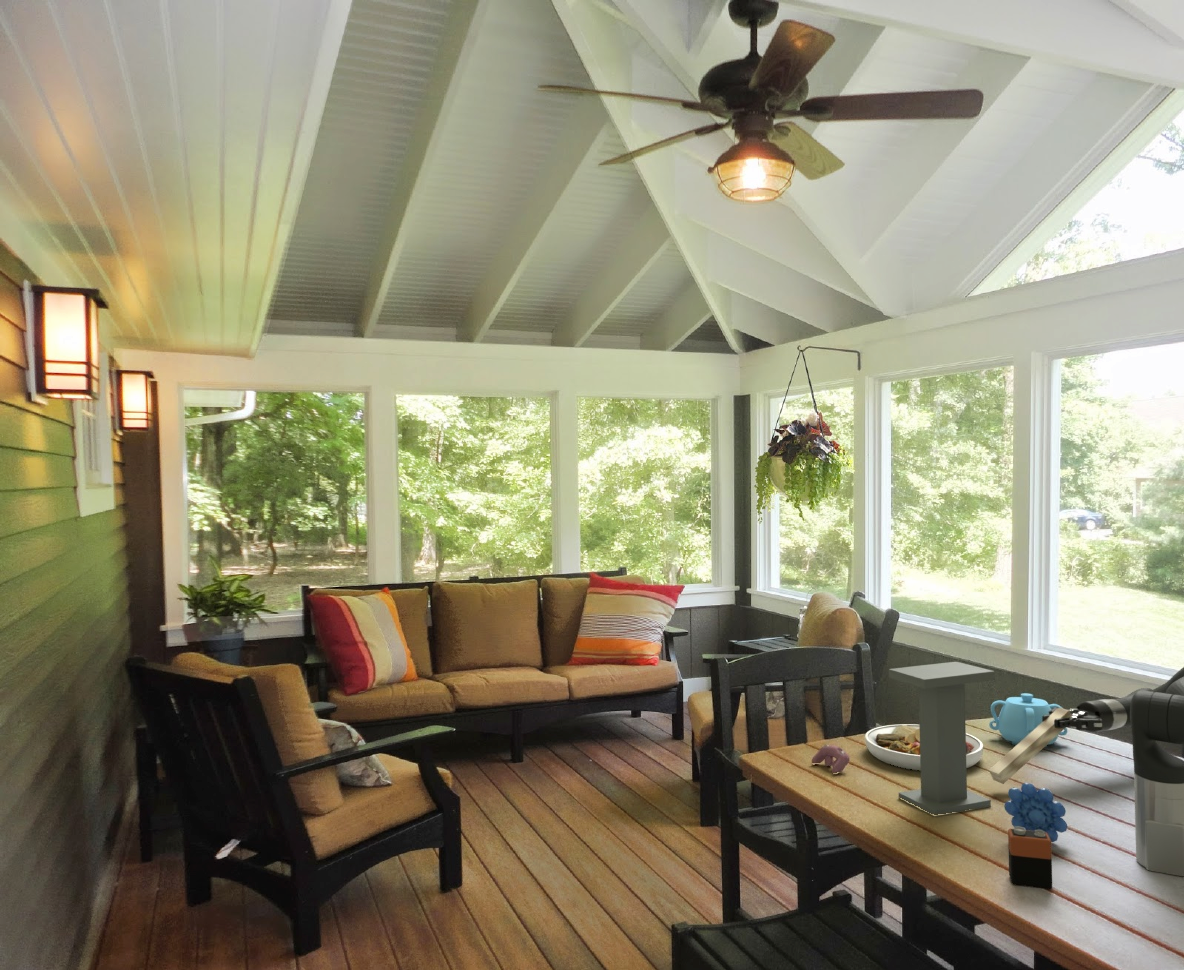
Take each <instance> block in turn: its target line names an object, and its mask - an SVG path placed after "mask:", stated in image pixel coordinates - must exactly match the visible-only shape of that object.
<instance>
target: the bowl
mask: <svg viewBox="0 0 1184 970" xmlns="http://www.w3.org/2000/svg"><path fill="white" fill-rule="evenodd" d="M864 735H865V736H864V740H865V745H866V748H867V750H868V751H869V752H870V754H872V756H874V757H875V758H876V759H878V760H879V761H882V762H883V763H885V764H888V765H890V764H891V766H893V765H894V767H897V766H898V767H897V768H900V767H901V768H900V769H905V768H906V770H910V769H912V770H911V771H917V770H919V771H918V772H921V769H920V725H919V724H915V723H913V724H912V723H911V724H907V723H906V724H904V723H903V724H888V725H883V726H882V725H881V726H878V727H875V728H872V729H870V730H868V731H867V732H866V733H865V734H864ZM983 753H984V743H983V742H982V741H981V740H980V739H979V738H977V737H976V736H974V735H972V734H969V733H967V732H966V769H968V768H971V767H973V766H975V765H976V764H978V762H979V761H980V760H981V759H982V755H983Z"/></svg>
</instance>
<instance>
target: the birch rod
mask: <svg viewBox="0 0 1184 970" xmlns="http://www.w3.org/2000/svg"><path fill="white" fill-rule="evenodd" d="M1069 710H1070V709H1065V708H1063V707H1062V708H1058V709H1057V710H1056V711H1054V712H1053V713H1052V714H1051V715H1050V716H1049V717H1048V718H1047V719H1046V720H1045V721H1043V722H1042V723H1041V724H1040V725H1039V726H1038V727H1036V728H1035V729H1034V730H1033V731H1032V732H1031V733H1030V734H1029V735H1027V736H1026V737H1025V738H1024V739H1023V740H1022V741H1021V742H1020V743H1018V744H1017V745H1015V746H1014V747H1013V748H1012V749H1011V750H1009V752H1007V753H1006V754H1005V755H1004V756H1002V758H1000V759H999V760H998V761H997V762H996V763H994V765H993V766H991V768H988V772H989V773H990V774H989V775H991V777H992V779H993V781H995V782H997V783H1001V784H1002V785H1004V784H1005V783H1007V782H1008V780H1010V778H1012V777H1013V776H1014V775H1015V774H1017V773H1018V772H1019V771H1020V770H1021V769H1022V768H1023V767H1024V766H1025V765H1027V763H1028V762H1030V761H1031V760H1032V759H1033V758H1034V757H1035V756H1036V755H1037V754H1039V752H1040V751H1041V750H1043V749H1044V748H1046V747H1045V746H1046V745H1047V744H1048V743H1049V742H1050V741H1052V740H1053V739H1054V738H1055V737H1056V736H1057V735H1058V734H1059V733H1060V732H1063V731H1064V729H1065V728H1059V729H1058V728H1055V724H1054V720H1055V719H1059V718H1068V717H1072V715H1071V713H1070V711H1069ZM1058 736H1059V735H1058ZM1048 745H1049V744H1048Z"/></svg>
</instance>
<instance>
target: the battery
mask: <svg viewBox="0 0 1184 970" xmlns="http://www.w3.org/2000/svg"><path fill="white" fill-rule="evenodd" d="M1007 839H1008V840H1007V841H1008V844H1007V845H1008V875H1009V878H1010V882H1011V884H1012V885H1014V886H1018V887H1019V886H1020V887H1027V888H1028V887H1029V888H1036V889H1043V890H1044V889H1045V890H1052V889H1053V860H1052V858H1053V857H1052V856H1053V855H1052V853H1053V852H1052V849H1053V848H1052V842H1051V840H1050V838H1049V836H1048V834H1047V833H1046V832H1044V831H1043V830H1035V831H1029V830H1025V828H1023V827H1019V826H1017V827H1014V826H1013V828H1009V829H1008V830H1007Z"/></svg>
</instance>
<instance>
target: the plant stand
mask: <svg viewBox="0 0 1184 970" xmlns="http://www.w3.org/2000/svg"><path fill="white" fill-rule="evenodd" d="M995 673H996V671H994V670H992V669H988V668H984V667H983V668H982V667H980V666H977V665H976V666H975V665H972V664H967V663H964V662H960V661H949V662H941V663H933V664H932V663H931V664H922V665H921V664H920V665H913V666H905V667H897V668H889V669H888V678H890V679H892V680H896V681H898V682H902V683H905V684H909V685H912V686H915V687H918V712H919V714H918V715H919V716H918V717H919V719H918V720H919V722H918V723H919V724H918V725H920V769H921V771H920V788H918V789H912V790H907V791H900V792H898V798H899V797H900V798H902V799H904V800H906V801H908V802H909V803H912V804H914V805H915V806H918V807H920V808H921V809H923V810H925V811H927V812H929V813H931V814H934V815H938V814H946V813H952V812H959V813H962V812H961V811H964V812H966V811H965V810H969V809H975V810H980V809H985V808H989V807H990V808H991V807H992V806H991V805H992V803H991V799H989V798H987V797H985V796H982V795H981V794H978V793H976V792H973V791H971V790H969V789H968V787H967V786H968V782H967V781H968V779H967V778H968V775H967V771H968V770H967V768H966V733H967V732H966V731H967V730H966V697H965V696H966V695H965V693H966V692H965V690H966V689H965V684H973V683H979V682H988V681H994V680H996V679H995V678H996V674H995ZM969 811H970V810H969Z"/></svg>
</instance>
